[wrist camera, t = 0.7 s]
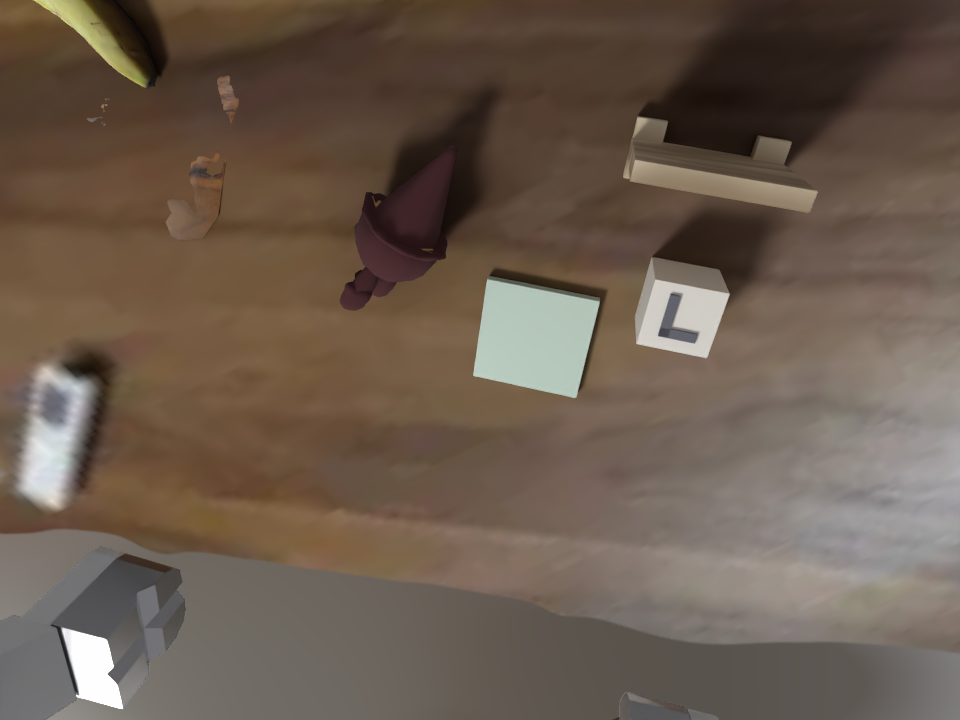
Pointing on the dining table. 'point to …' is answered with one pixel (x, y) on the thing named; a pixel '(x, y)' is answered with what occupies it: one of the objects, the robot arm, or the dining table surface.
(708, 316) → the letter cube
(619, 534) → the dining table surface
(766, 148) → the oak screen
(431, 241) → the maroon gnome figurine
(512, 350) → the green tile
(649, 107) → the dining table surface
